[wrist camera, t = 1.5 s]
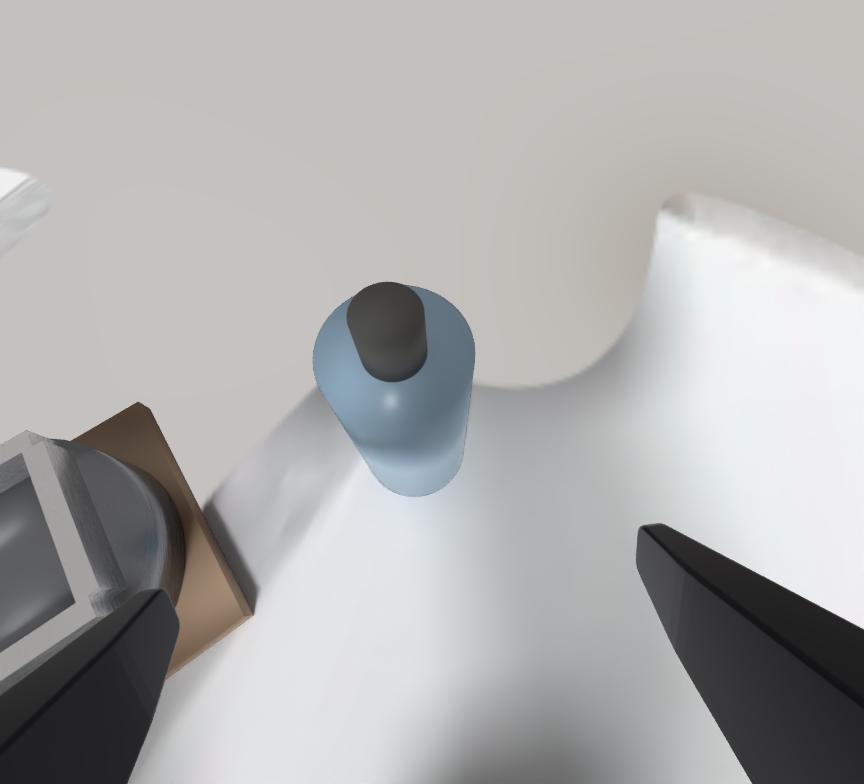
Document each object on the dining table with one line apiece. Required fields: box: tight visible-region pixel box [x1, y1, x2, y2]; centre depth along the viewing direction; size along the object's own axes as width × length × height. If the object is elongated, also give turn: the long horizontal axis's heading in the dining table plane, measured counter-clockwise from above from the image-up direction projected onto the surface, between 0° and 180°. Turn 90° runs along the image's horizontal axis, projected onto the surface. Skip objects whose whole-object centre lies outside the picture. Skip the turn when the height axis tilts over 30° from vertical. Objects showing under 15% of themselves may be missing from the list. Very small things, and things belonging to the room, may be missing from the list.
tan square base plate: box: [0, 402, 253, 695], centre depth 18 cm, size 12×12×6 cm
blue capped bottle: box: [313, 282, 475, 497], centre depth 17 cm, size 5×5×12 cm
